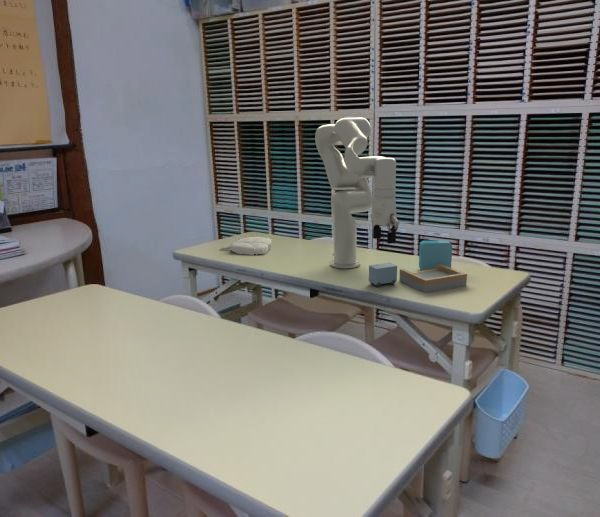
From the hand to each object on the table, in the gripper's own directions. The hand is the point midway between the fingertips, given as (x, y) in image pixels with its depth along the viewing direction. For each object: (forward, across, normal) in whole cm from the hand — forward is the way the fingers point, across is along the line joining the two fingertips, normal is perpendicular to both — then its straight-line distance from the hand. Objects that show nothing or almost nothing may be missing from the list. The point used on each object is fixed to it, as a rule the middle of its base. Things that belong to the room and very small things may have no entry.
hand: (384, 240), depth 180 cm
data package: (+17, -7, +28) cm, 33 cm away
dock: (+17, +6, +17) cm, 25 cm away
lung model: (+16, -76, -31) cm, 83 cm away
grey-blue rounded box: (+17, -1, 0) cm, 17 cm away
